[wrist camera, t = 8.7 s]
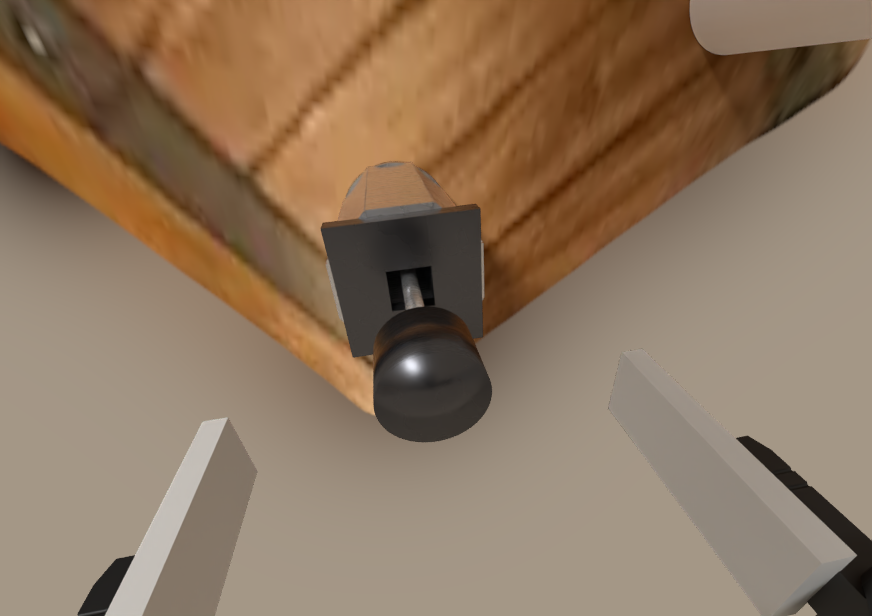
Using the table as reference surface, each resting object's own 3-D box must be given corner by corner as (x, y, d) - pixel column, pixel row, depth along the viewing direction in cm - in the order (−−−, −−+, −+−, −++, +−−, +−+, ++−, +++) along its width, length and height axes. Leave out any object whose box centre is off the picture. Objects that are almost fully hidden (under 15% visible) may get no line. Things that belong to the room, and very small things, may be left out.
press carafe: (332, 168, 31) (305, 218, 18) (443, 155, 32) (491, 195, 19) (360, 295, 38) (354, 398, 25) (452, 281, 38) (491, 375, 26)
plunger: (351, 194, 29) (322, 342, 12) (434, 184, 29) (523, 311, 12) (366, 271, 32) (360, 473, 15) (441, 261, 33) (517, 444, 15)
